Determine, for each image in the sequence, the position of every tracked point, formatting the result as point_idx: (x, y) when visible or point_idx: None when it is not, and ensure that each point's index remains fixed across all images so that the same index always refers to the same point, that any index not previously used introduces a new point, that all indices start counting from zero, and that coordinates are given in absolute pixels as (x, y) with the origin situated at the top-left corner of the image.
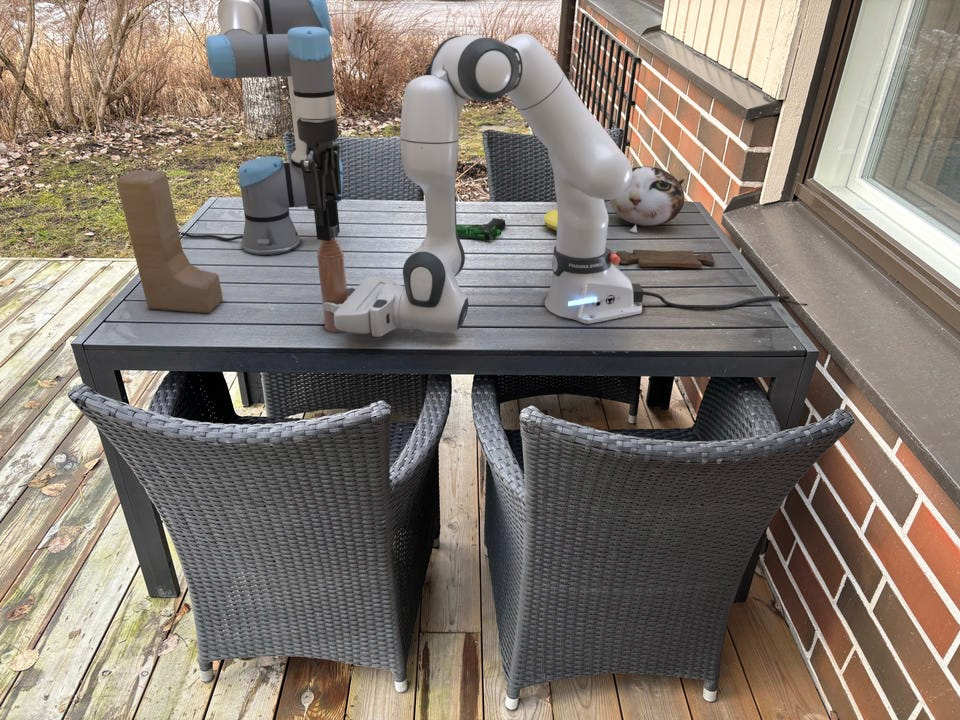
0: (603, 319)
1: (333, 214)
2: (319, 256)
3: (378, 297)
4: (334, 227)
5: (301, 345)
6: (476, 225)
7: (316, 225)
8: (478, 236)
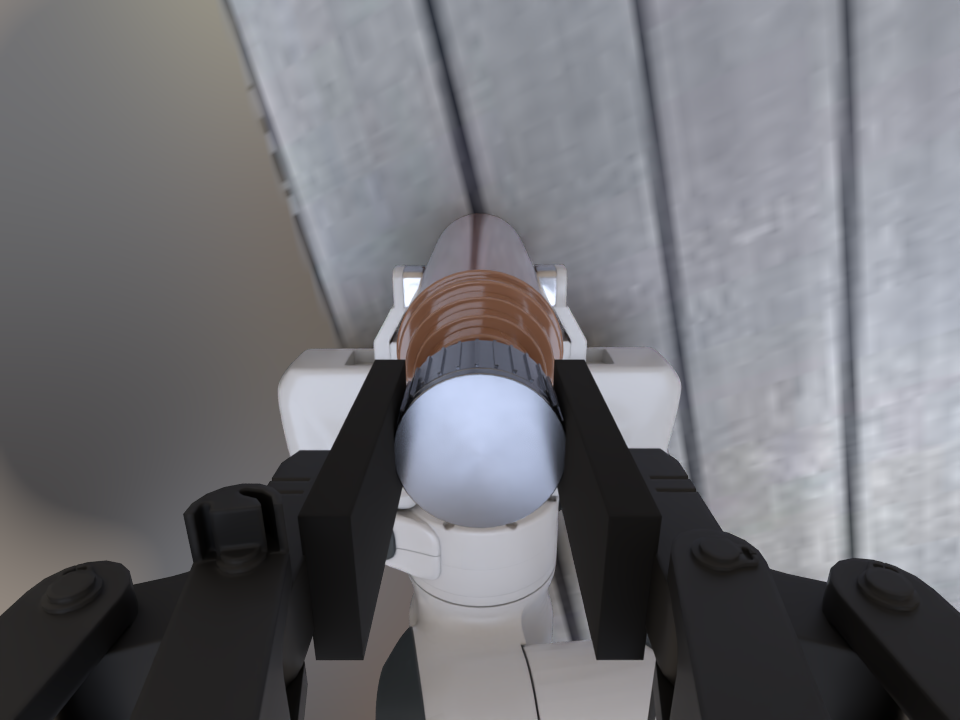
0: None
1: (575, 525)
2: (412, 312)
3: (405, 525)
4: (452, 518)
5: (309, 191)
6: None
7: (299, 450)
8: None
